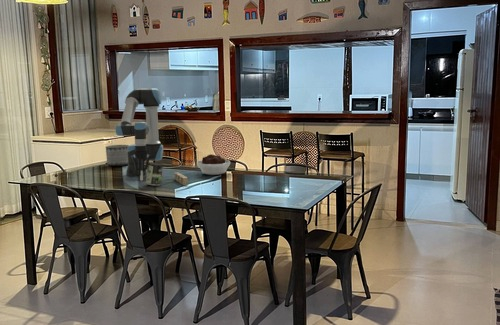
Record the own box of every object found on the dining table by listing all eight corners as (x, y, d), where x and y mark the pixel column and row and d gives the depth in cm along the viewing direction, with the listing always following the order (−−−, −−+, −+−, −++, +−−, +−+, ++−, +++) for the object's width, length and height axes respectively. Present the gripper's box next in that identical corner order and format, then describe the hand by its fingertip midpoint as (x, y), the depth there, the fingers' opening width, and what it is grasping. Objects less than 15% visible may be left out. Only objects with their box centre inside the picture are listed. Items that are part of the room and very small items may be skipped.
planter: (102, 167, 403) (101, 147, 400) (112, 163, 422) (111, 144, 419) (124, 167, 400) (123, 147, 397) (133, 163, 419) (132, 144, 416)
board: (174, 179, 348) (174, 172, 347) (178, 179, 349) (178, 172, 348) (183, 185, 328) (183, 178, 327) (187, 184, 329) (187, 177, 328)
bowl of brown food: (225, 170, 382) (225, 151, 380) (234, 175, 359) (234, 155, 356) (194, 172, 374) (193, 153, 372) (201, 178, 351) (200, 157, 348)
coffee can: (162, 184, 334) (165, 164, 333) (157, 186, 324) (160, 165, 323) (148, 181, 336) (151, 161, 334) (142, 183, 326) (145, 163, 324)
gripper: (131, 146, 316) (132, 181, 319) (151, 145, 322) (152, 180, 324) (129, 145, 323) (130, 180, 326) (149, 144, 328) (150, 178, 331)
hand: (141, 180), depth 325 cm, fingers closed
